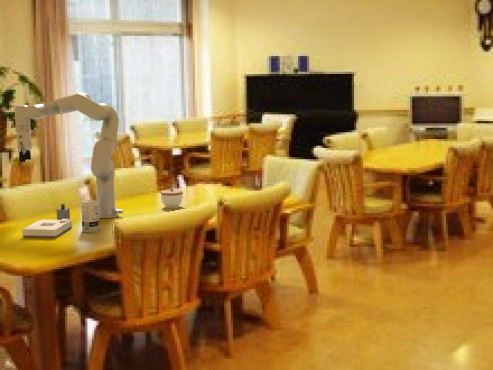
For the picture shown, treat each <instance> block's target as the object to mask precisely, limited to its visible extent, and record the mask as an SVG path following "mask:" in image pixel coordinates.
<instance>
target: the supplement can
mask: <svg viewBox="0 0 493 370" xmlns="http://www.w3.org/2000/svg"><path fill="white" fill-rule="evenodd" d="M80 209H81V211H80V213H81V214H80V216H81V230H82V232H83V233H86V234H94V233H97V232H99V230H100V218H99V208H98V202H97V199H85V200H82V201H81V204H80Z"/></svg>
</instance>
